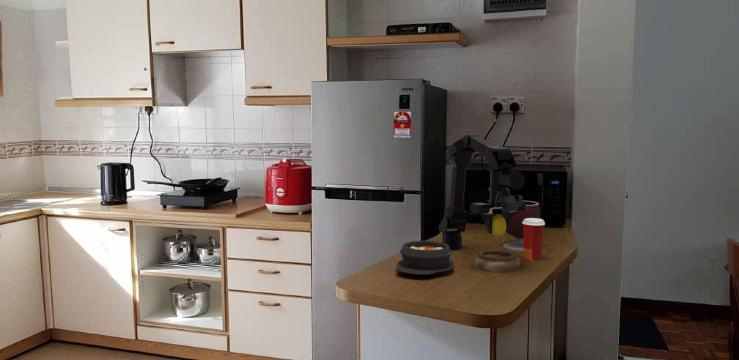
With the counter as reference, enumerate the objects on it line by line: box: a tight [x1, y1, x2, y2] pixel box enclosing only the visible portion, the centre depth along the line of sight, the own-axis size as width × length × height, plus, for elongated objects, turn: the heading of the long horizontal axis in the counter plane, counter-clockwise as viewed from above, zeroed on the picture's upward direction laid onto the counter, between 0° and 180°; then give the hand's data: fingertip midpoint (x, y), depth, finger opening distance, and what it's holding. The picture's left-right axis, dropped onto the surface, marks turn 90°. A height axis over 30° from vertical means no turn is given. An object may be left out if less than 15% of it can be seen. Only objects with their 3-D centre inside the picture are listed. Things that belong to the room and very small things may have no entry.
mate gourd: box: [502, 200, 541, 252], centre depth 240 cm, size 16×14×20 cm
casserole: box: [395, 240, 455, 276], centre depth 205 cm, size 25×19×8 cm
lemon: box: [491, 213, 506, 239], centre depth 210 cm, size 6×6×8 cm
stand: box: [473, 249, 521, 273], centre depth 211 cm, size 15×15×4 cm
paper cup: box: [522, 218, 546, 262], centre depth 221 cm, size 8×8×14 cm
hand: (497, 232), depth 210 cm, fingers closed on lemon, 5 cm apart
